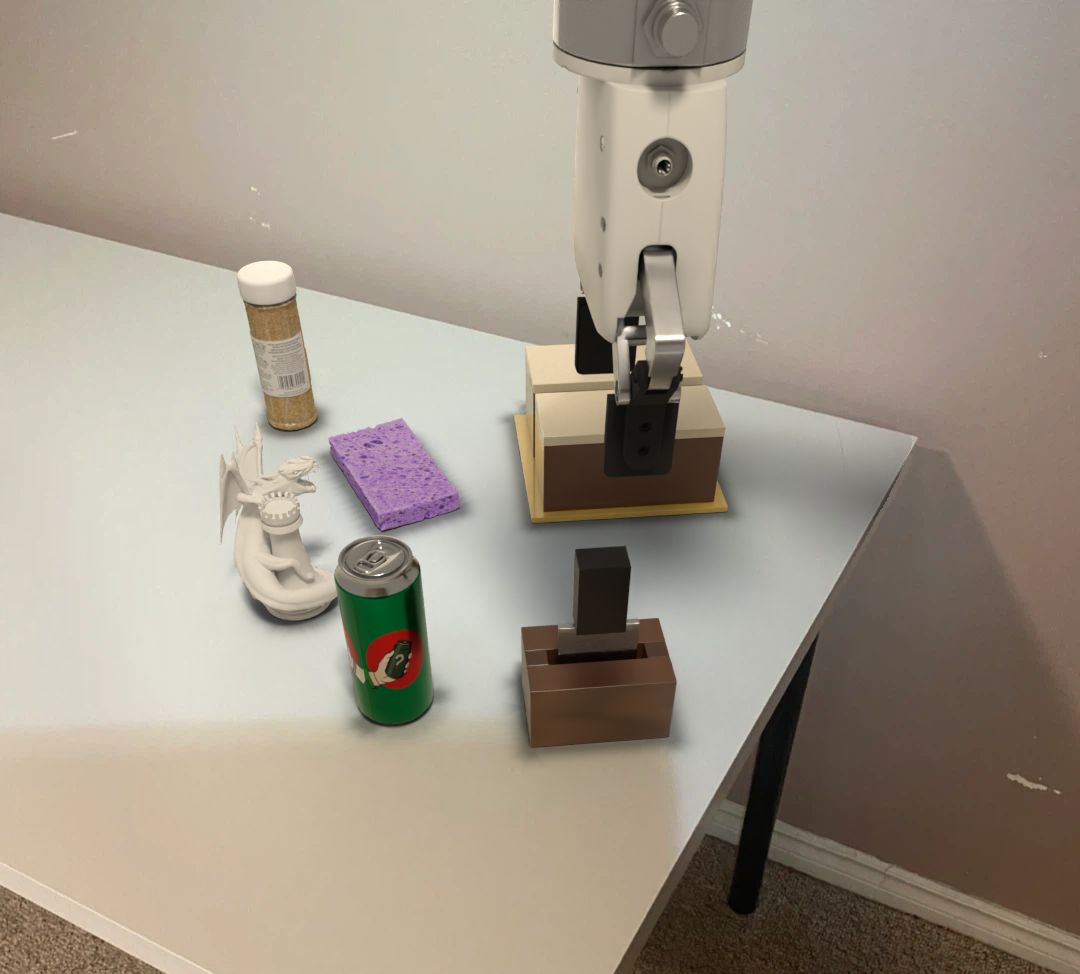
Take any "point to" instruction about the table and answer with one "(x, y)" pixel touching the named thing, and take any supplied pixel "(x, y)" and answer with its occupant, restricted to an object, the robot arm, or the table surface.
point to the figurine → (273, 532)
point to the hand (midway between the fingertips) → (619, 418)
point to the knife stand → (596, 691)
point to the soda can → (385, 628)
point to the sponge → (393, 474)
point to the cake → (578, 438)
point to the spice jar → (278, 343)
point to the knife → (599, 609)
